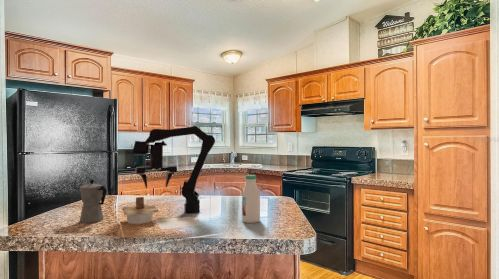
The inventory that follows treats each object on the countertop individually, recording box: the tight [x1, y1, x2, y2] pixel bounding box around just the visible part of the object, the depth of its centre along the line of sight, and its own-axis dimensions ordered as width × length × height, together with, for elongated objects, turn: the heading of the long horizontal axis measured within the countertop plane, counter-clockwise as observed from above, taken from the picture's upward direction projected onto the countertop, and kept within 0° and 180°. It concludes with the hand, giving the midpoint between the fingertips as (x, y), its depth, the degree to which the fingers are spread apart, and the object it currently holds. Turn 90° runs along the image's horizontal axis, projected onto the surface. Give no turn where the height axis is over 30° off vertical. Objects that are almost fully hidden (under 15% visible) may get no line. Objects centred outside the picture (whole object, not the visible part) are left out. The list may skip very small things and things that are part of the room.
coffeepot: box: [79, 179, 108, 224], centre depth 136 cm, size 15×9×18 cm, turn 65°
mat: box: [154, 216, 202, 230], centre depth 130 cm, size 16×16×1 cm
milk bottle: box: [241, 174, 261, 224], centre depth 135 cm, size 8×8×20 cm
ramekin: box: [126, 213, 154, 225], centre depth 133 cm, size 11×11×5 cm
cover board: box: [121, 196, 159, 216], centre depth 133 cm, size 13×13×6 cm
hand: (156, 187), depth 149 cm, fingers open, 9 cm apart
